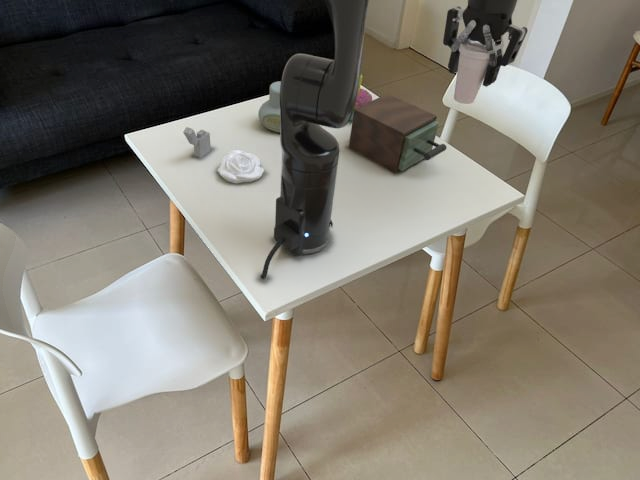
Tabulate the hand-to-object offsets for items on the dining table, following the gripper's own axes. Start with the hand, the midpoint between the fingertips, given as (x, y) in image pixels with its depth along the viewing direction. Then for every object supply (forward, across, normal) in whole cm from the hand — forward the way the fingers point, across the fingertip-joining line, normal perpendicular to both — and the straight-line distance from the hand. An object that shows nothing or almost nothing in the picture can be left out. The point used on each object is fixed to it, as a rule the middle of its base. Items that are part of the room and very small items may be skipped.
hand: (469, 78), depth 95 cm
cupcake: (+24, +32, -9) cm, 40 cm away
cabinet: (+24, +16, -3) cm, 28 cm away
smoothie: (+4, 0, 0) cm, 4 cm away
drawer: (+23, +12, -3) cm, 26 cm away
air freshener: (+24, +40, +8) cm, 47 cm away
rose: (+24, +31, +28) cm, 48 cm away
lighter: (+24, +42, +31) cm, 57 cm away
